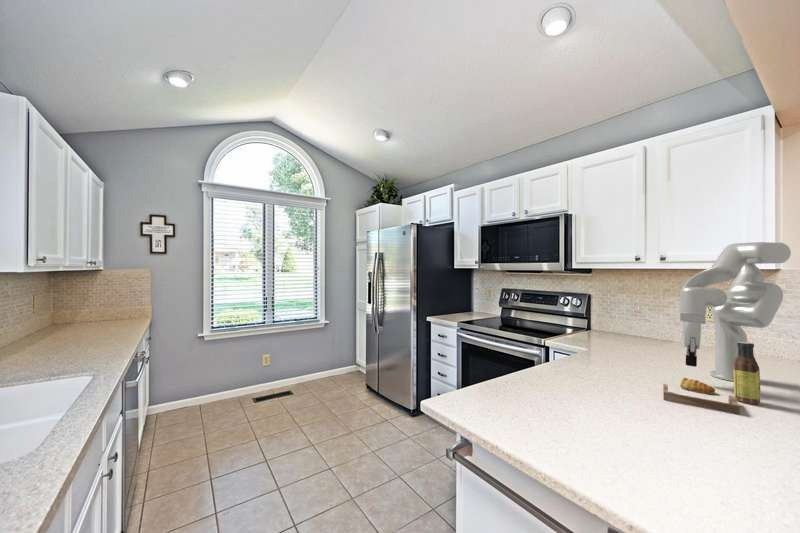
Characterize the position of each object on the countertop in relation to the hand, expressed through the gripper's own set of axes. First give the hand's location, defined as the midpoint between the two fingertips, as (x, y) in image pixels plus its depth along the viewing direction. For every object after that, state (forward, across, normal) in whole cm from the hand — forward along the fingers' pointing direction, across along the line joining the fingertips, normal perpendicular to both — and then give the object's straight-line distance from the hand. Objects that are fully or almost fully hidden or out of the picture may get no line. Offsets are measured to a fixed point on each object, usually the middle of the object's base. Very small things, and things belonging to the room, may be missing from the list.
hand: (690, 365), depth 133 cm
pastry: (+8, +8, +1) cm, 11 cm away
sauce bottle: (+7, +12, +14) cm, 20 cm away
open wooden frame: (+8, +24, +1) cm, 25 cm away
